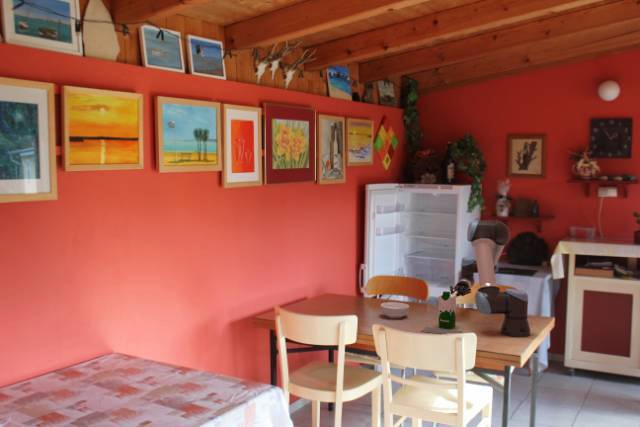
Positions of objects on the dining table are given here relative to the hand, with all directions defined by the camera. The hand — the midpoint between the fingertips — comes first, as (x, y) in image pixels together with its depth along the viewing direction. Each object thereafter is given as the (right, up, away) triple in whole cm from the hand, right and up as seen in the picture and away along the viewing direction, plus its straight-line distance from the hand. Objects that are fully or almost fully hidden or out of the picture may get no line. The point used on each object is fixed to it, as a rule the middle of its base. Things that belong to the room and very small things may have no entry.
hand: (453, 296), depth 360 cm
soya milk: (-6, -16, -9) cm, 19 cm away
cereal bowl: (-32, -14, +14) cm, 38 cm away
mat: (-11, -17, -19) cm, 27 cm away
